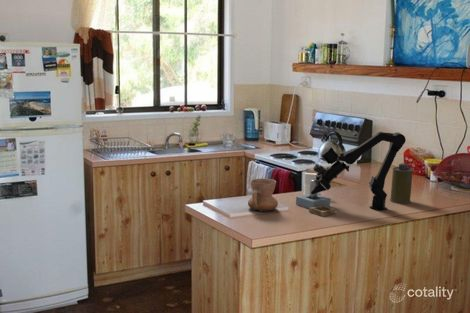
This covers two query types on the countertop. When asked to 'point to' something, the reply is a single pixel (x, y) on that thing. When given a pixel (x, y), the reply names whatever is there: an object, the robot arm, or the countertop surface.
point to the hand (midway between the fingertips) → (310, 191)
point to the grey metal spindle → (312, 185)
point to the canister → (401, 184)
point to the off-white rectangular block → (307, 183)
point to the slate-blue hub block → (312, 201)
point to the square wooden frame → (324, 209)
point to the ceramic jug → (263, 194)
